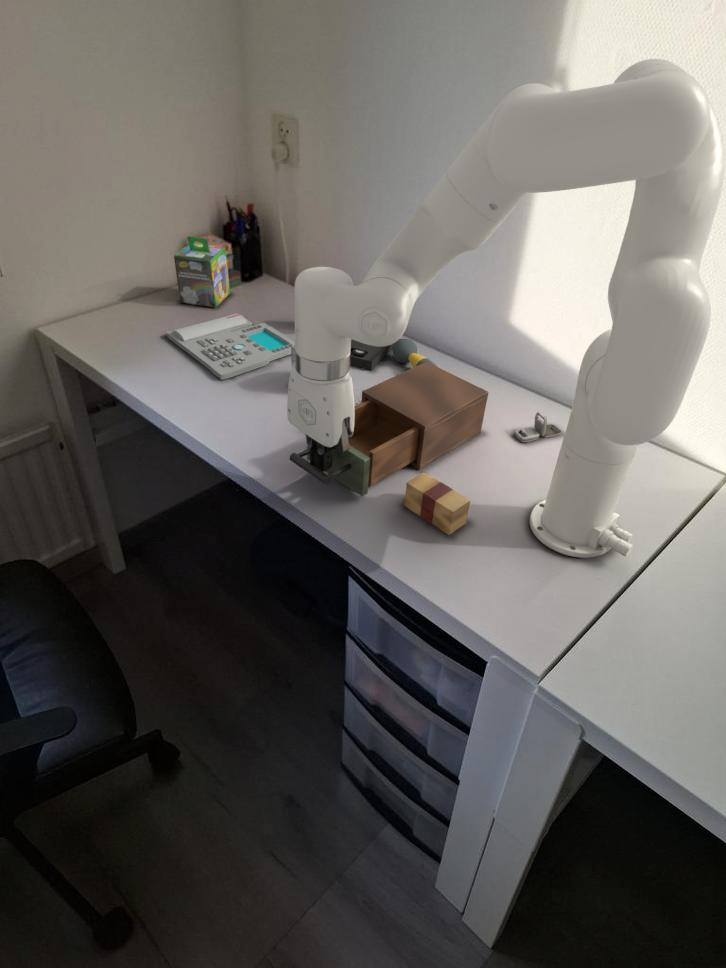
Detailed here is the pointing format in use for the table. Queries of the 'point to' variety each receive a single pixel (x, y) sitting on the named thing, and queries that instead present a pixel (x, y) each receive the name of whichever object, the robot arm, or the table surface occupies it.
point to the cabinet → (433, 408)
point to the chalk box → (202, 273)
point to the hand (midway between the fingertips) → (320, 468)
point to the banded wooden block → (436, 503)
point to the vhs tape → (367, 354)
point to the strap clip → (537, 430)
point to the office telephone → (232, 344)
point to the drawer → (369, 449)
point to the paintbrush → (408, 353)
